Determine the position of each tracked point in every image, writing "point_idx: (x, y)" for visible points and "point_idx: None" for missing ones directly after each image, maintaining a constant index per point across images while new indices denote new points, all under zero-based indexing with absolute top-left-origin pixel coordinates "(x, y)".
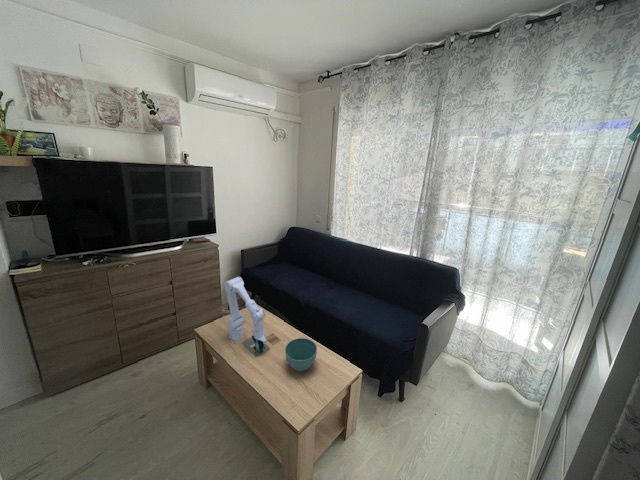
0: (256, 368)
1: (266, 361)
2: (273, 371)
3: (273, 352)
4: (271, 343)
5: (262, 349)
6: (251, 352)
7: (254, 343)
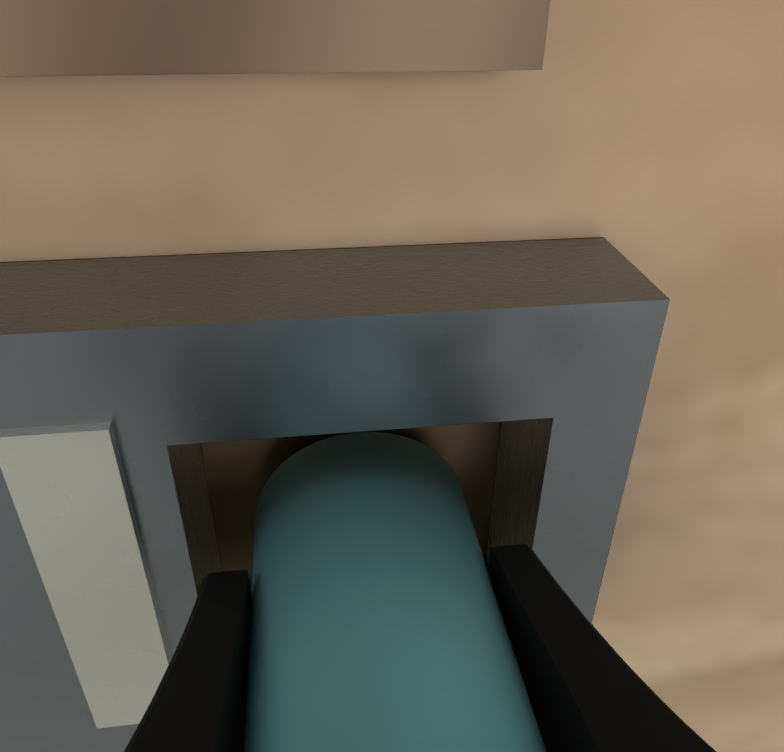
0: (725, 670)
1: (777, 484)
2: None
3: (719, 178)
4: (378, 17)
5: (455, 490)
6: None
7: (15, 601)
